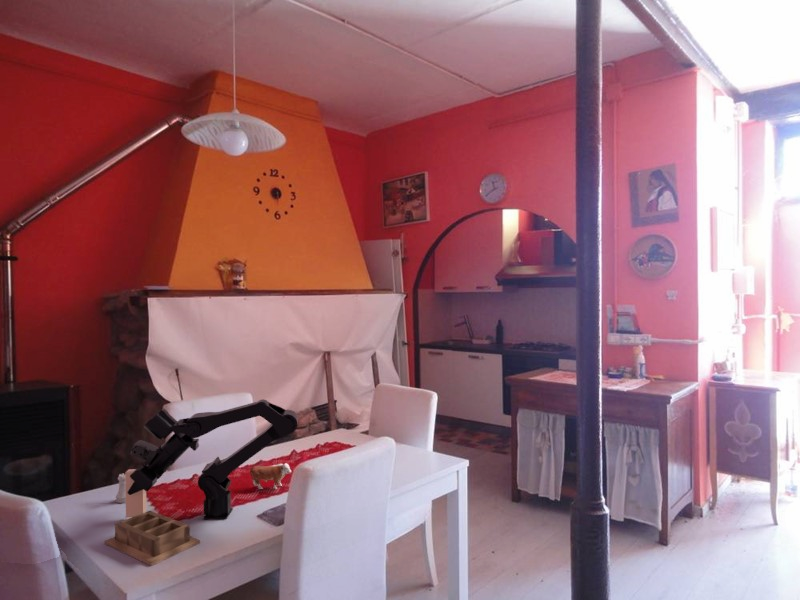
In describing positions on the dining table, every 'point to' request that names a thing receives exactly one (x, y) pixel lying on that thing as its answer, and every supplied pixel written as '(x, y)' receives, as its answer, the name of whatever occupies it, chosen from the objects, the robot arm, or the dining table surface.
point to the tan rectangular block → (134, 498)
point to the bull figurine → (269, 473)
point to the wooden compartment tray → (151, 537)
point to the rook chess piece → (121, 489)
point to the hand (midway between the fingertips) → (130, 491)
